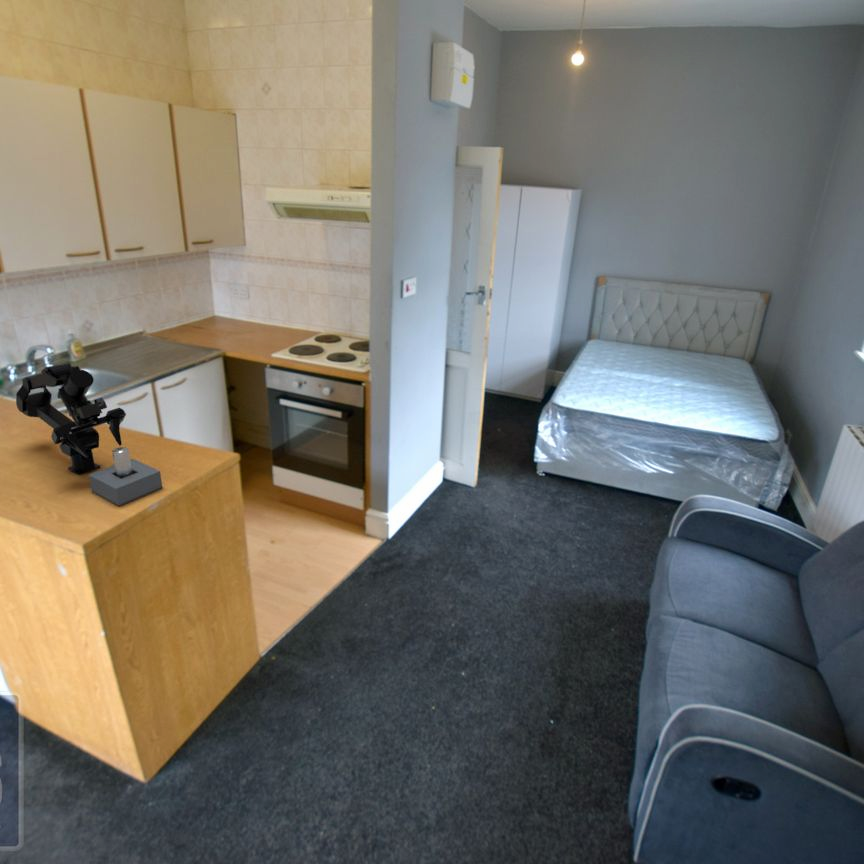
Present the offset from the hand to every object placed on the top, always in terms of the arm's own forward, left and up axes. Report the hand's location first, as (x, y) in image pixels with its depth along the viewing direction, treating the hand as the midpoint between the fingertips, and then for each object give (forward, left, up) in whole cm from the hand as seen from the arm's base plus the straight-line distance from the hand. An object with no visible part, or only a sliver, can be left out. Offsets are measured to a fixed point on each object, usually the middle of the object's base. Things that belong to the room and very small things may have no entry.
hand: (104, 451), depth 162 cm
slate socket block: (+8, 0, -10) cm, 13 cm away
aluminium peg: (+8, 0, -9) cm, 12 cm away
